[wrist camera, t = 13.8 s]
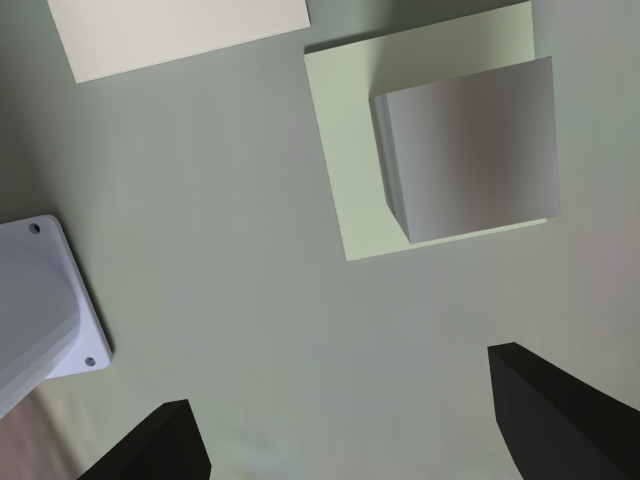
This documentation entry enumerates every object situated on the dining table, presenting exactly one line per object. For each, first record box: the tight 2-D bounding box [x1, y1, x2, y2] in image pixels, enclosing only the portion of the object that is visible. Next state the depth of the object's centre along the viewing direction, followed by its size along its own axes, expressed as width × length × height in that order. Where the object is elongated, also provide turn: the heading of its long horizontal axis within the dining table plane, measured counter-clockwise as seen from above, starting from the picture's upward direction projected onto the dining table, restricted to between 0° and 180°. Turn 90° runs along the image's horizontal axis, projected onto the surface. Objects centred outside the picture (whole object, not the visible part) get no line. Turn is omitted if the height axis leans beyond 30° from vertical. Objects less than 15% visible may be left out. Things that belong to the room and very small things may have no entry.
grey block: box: [368, 56, 561, 244], centre depth 15 cm, size 4×4×6 cm
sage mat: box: [304, 1, 546, 261], centre depth 18 cm, size 9×9×1 cm
